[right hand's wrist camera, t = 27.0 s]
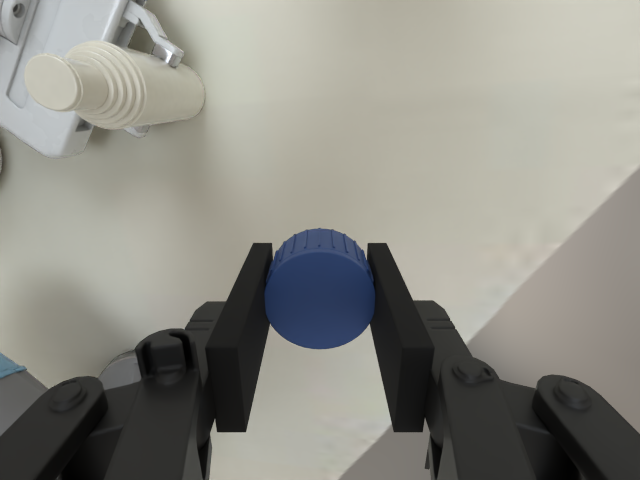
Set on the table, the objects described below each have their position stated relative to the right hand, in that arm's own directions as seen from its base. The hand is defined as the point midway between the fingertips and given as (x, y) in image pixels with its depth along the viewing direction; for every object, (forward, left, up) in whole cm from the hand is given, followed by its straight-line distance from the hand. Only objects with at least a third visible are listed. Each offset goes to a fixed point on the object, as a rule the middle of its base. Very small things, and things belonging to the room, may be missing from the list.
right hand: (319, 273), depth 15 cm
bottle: (-8, +14, -26) cm, 31 cm away
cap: (0, 0, +2) cm, 2 cm away
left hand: (-8, +13, -20) cm, 25 cm away
